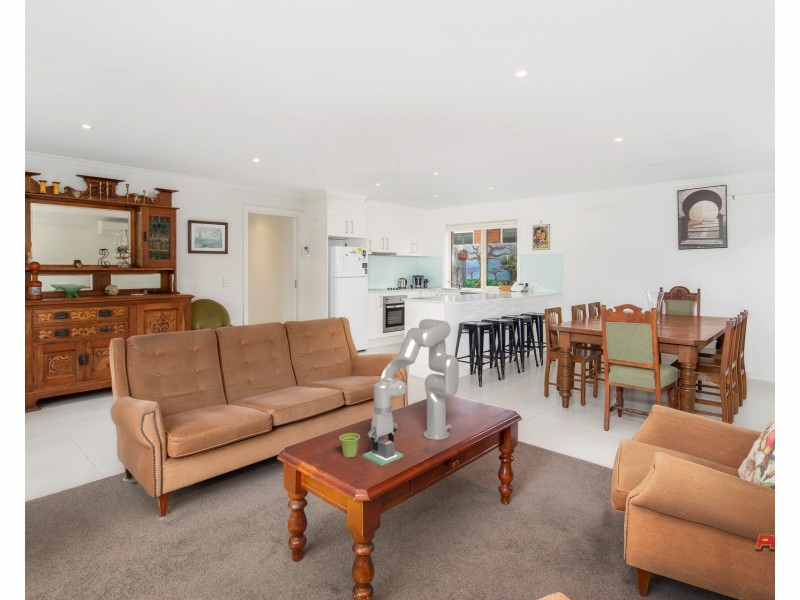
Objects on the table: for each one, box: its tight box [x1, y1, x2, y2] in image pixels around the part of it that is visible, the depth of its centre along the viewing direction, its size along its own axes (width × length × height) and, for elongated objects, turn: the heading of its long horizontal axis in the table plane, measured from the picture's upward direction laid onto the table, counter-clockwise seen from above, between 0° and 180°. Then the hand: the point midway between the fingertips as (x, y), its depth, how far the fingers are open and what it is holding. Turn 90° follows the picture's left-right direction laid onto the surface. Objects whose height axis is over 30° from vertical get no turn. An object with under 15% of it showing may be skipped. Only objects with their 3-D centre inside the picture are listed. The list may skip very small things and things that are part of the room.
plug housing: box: [371, 436, 396, 459], centre depth 206 cm, size 5×10×6 cm, turn 44°
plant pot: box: [338, 432, 361, 459], centre depth 208 cm, size 9×9×9 cm
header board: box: [362, 450, 404, 467], centre depth 207 cm, size 13×13×5 cm
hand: (383, 446), depth 207 cm, fingers open, 9 cm apart
